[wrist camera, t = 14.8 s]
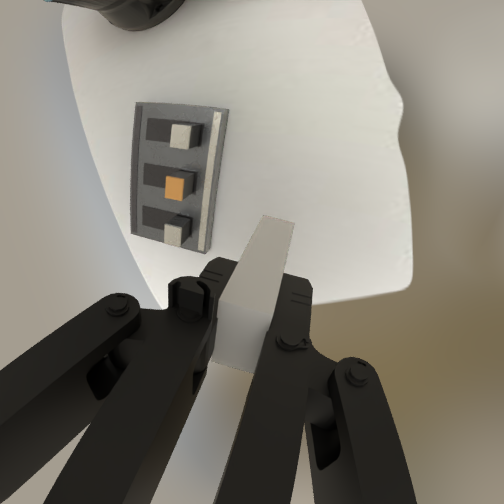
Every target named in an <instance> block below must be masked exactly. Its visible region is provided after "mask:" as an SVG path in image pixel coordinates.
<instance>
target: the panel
mask: <svg viewBox="0 0 504 504" xmlns="http://www.w3.org/2000/svg"><path fill="white" fill-rule="evenodd" d="M228 112H229V109H223V108H215V107H206V106H197V105H186V104H172V103H154V102H136V106H135V116H134V127H133V140H132V157H131V188H130V216H131V234H134V235H138V236H141V237H145V238H148V239H152V240H155V241H159V242H163V243H165V244H169V245H173V246H176V247H181V248H184V249H188V250H192V251H195V252H199V253H203V254H206V253H207V252H208V250H209V249H210V242H211V233H212V225H213V216H214V208H215V201H216V193H217V185H218V178H219V171H220V164H221V157H222V150H223V144H224V137H225V131H226V124H227V118H228ZM178 170H179V171H184V172H190V173H194V181H193V191H192V194H191V195H189V196H188V197H186V198H185V199H184V200H182V201H178V200H174V199H169V198H165V186H166V176H168V175H170V174H172V173H174V172H176V171H178Z"/></svg>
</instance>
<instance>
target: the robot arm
mask: <svg viewBox="0 0 504 504" xmlns="http://www.w3.org/2000/svg"><path fill="white" fill-rule="evenodd" d="M44 1H46V2H57V3H63V4H69V5H74V6H79V7H84V8H89V9H93V10H97V11H98V12H100V13H101V14H102V15H103V16H104V17H105V18H106V19H107V20H108V21H109V22H110V23H111V24H113V25H114V26H116V27H119V28H122V29H126V30H131V31H137V30H144V29H147V28H150V27H153V26H155V25H157V24H159V23H160V22H162V21H164V20H165V19H167V18H168V17H169V16H170V15H172V14H173V13H174V12H175V11H176V10H177V9H178V8H179V7H180V5H181V4H182V3H183V1H184V0H44ZM293 227H294V223H292V222H288V221H285V220H281V219H277V218H273V217H269V216H264V215H263V216H262V218H261V220H260V222H259V224H258V226H257V228H256V230H255V231H254V233H253V235H252V237H251V239H250V241H249V243H248V245H247V247H246V249H245V251H244V252H243V254H242V256H241V258H240V260H239V262H236V261H232V260H229V259H225V258H221V257H217V258H215V259H213V260H212V261H210V262H209V263H208V264H207V265H206V267H205V268H204V270H203V271H202V273H201V274H200V275H199V277H193V276H185V277H179V278H177V279H174V280H172V281H171V282H170V283H169V284H168V308H167V309H164V310H154V309H142V308H140V305H139V302H138V300H137V299H135V297H133V296H131V295H129V294H125V293H115V294H110V295H108V296H106V297H104V298H102V299H101V300H99V301H98V302H96V303H95V304H93V305H92V306H90V307H89V308H87V309H86V310H84V311H83V312H81V313H80V314H78V315H77V316H75V317H74V318H72V319H71V320H70V321H68V322H67V323H65V324H64V325H62V326H61V327H59V328H58V329H57V330H55V331H54V332H52V333H51V334H49V335H48V336H47V337H45V338H44V339H43V340H41V341H40V342H39V343H37V344H36V345H34V346H33V347H31V348H30V349H29V350H27V351H26V352H24V353H23V354H22V355H20V356H19V357H18V358H16V359H15V360H14V361H12V362H11V363H10V364H8V365H7V366H6V367H4V368H3V369H2V370H0V503H2V502H3V501H5V500H6V499H7V498H9V497H10V496H11V495H12V494H13V493H14V492H15V491H16V490H17V489H19V488H20V487H21V486H22V485H23V484H24V483H25V482H26V481H27V480H29V479H30V478H31V477H32V476H33V475H34V474H35V473H36V472H37V471H38V470H40V469H41V468H42V467H43V466H44V465H45V464H46V463H47V462H48V461H50V460H51V459H52V458H53V457H54V456H55V455H56V454H57V453H58V452H59V451H60V450H62V449H63V448H64V447H65V446H66V445H67V444H68V443H69V442H70V441H71V440H72V439H73V438H75V437H76V436H77V435H78V433H80V432H81V431H82V430H83V429H84V428H85V427H86V426H87V425H89V424H90V425H89V427H88V428H87V430H86V431H85V433H84V435H83V436H82V438H81V439H80V442H79V443H78V444H77V446H76V448H75V449H74V451H73V453H72V454H71V456H70V458H69V459H68V461H67V463H66V464H65V466H64V468H63V470H62V471H61V473H60V475H59V477H58V478H57V480H56V482H55V484H54V485H53V487H52V489H51V490H50V492H49V494H48V496H47V498H46V499H45V501H44V503H43V504H150V503H151V500H152V498H153V496H154V493H155V491H156V489H157V487H158V484H159V482H160V480H161V478H162V475H163V473H164V471H165V468H166V466H167V464H168V461H169V459H170V457H171V455H172V452H173V450H174V448H175V445H176V443H177V441H178V439H179V436H180V434H181V432H182V429H183V427H184V425H185V423H186V420H187V418H188V416H189V413H190V411H191V408H192V406H193V404H194V402H195V399H196V397H197V394H198V392H199V390H200V388H201V385H202V383H203V381H204V378H205V376H206V373H207V365H208V362H209V360H210V358H211V356H212V360H211V361H212V362H215V363H218V364H222V365H225V366H228V367H232V368H235V369H239V370H242V371H246V372H249V373H253V374H254V376H253V379H252V382H251V386H250V389H249V392H248V395H247V398H246V402H245V406H244V409H243V412H242V415H241V419H240V422H239V425H238V429H237V432H236V435H235V439H234V441H233V445H232V448H231V451H230V454H229V457H228V460H227V463H226V466H225V469H224V472H223V475H222V478H221V481H220V484H219V487H218V490H217V493H216V496H215V499H214V502H213V504H290V501H291V497H292V492H293V487H294V481H295V476H296V471H297V465H298V459H299V453H300V446H301V439H302V433H303V426H304V423H305V431H306V439H307V446H308V453H309V461H310V469H311V477H312V485H313V493H314V502H315V504H417V502H416V497H415V494H414V489H413V485H412V481H411V477H410V474H409V470H408V467H407V463H406V459H405V456H404V452H403V449H402V446H401V442H400V439H399V436H398V433H397V430H396V426H395V424H394V420H393V417H392V414H391V411H390V408H389V405H388V402H387V399H386V396H385V394H384V391H383V388H382V385H381V382H380V380H379V377H378V374H377V373H376V371H375V369H374V368H373V367H372V366H371V365H370V364H369V363H368V362H366V361H364V360H362V359H360V358H355V357H349V358H344V359H342V360H341V361H339V362H338V363H337V362H335V361H333V360H331V359H329V358H327V357H325V356H323V355H322V354H320V353H319V352H318V351H317V350H316V349H315V348H314V347H313V345H312V342H311V339H310V338H309V331H310V320H311V319H310V318H311V305H312V293H313V288H312V286H311V284H310V282H309V280H308V279H305V278H301V277H297V276H293V275H289V274H285V273H283V272H284V268H285V263H286V259H287V254H288V250H289V246H290V241H291V237H292V232H293Z"/></svg>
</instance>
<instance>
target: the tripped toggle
mask: <svg viewBox="0 0 504 504" xmlns="http://www.w3.org/2000/svg"><path fill="white" fill-rule="evenodd" d="M193 181H194V173H190V172H184V171H179V170H178V171H176V172H174V173H172V174H170V175H168V176H166V186H165V198H169V199H174V200H178V201H182V200H184V199H185V198H186V197H188V196H189V195H191V194H192V191H193Z"/></svg>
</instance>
